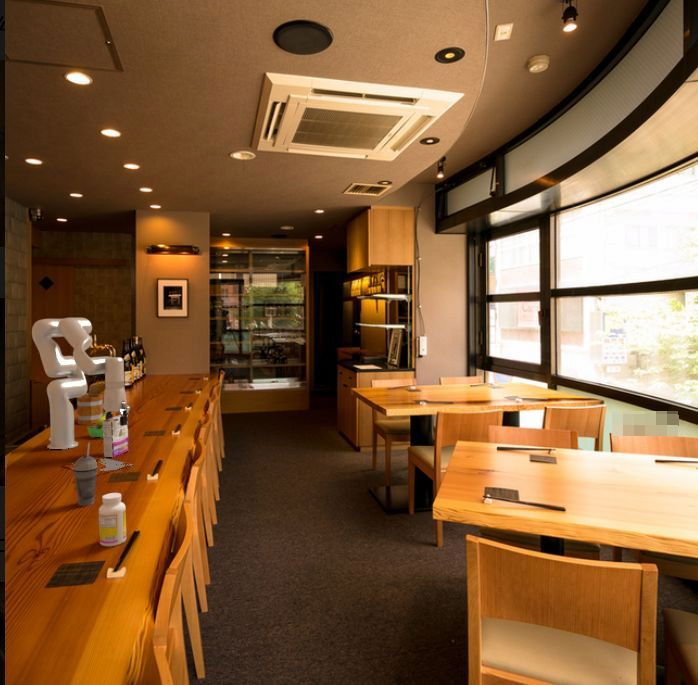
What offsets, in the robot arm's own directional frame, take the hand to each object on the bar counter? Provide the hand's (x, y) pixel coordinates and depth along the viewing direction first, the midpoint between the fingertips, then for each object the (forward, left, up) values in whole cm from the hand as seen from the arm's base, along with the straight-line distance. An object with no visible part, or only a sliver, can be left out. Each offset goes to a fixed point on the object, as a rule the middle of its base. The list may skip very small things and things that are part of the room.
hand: (116, 424), depth 227 cm
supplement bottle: (+76, -57, -14) cm, 96 cm away
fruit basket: (-37, +18, -14) cm, 43 cm away
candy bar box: (-1, 0, -14) cm, 14 cm away
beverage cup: (+43, -43, -14) cm, 63 cm away
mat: (+8, -15, -14) cm, 22 cm away
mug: (-76, +38, -14) cm, 86 cm away
